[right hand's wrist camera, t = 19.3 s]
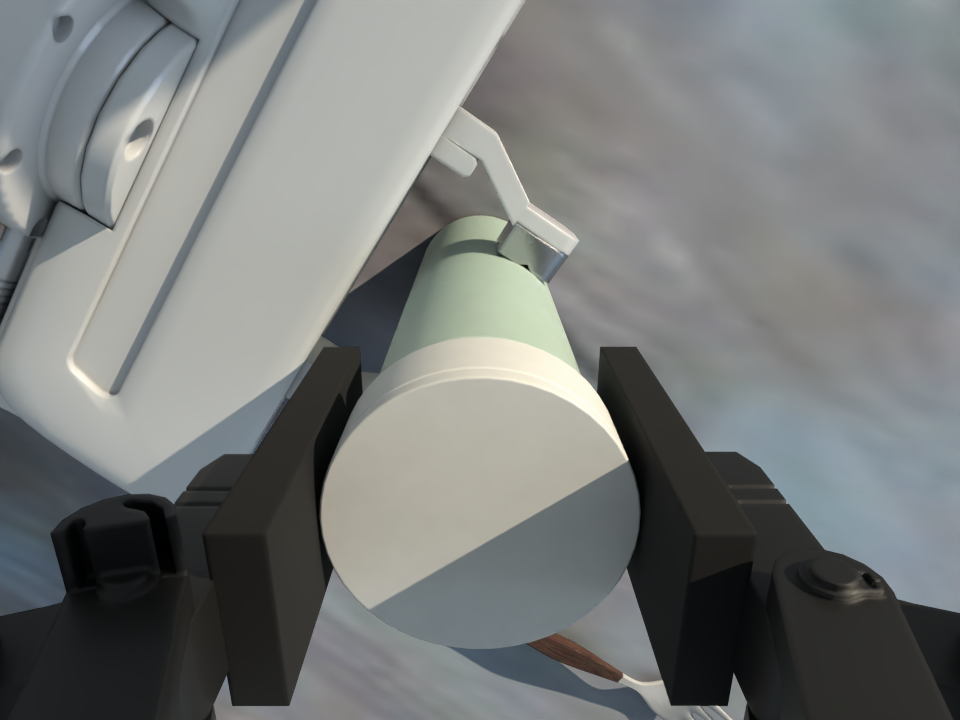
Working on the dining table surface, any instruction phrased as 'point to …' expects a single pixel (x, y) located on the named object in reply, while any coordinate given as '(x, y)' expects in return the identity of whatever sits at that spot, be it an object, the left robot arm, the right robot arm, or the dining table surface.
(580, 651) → the fork
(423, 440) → the lid
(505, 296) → the light green cylinder
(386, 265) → the dining table surface
